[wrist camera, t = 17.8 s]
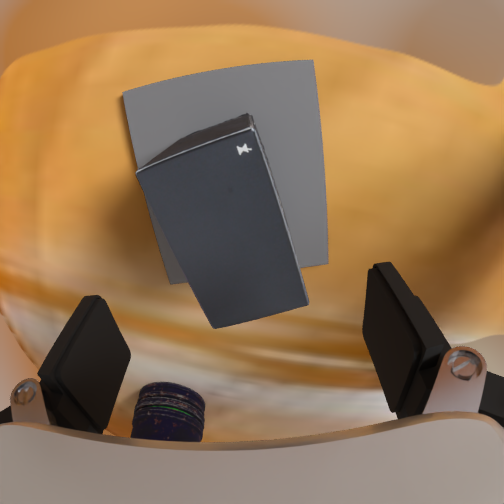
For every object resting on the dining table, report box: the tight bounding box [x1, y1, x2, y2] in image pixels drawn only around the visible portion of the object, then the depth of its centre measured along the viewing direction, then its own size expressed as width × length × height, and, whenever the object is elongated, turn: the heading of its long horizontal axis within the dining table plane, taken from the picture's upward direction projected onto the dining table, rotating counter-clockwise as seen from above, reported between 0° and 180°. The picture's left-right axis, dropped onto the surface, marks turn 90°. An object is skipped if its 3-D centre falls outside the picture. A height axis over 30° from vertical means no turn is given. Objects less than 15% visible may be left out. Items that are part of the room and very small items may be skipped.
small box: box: [136, 113, 309, 329], centre depth 20 cm, size 11×6×10 cm, turn 18°
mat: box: [122, 60, 328, 284], centre depth 25 cm, size 15×18×1 cm
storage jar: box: [131, 382, 205, 442], centre depth 33 cm, size 10×10×15 cm
